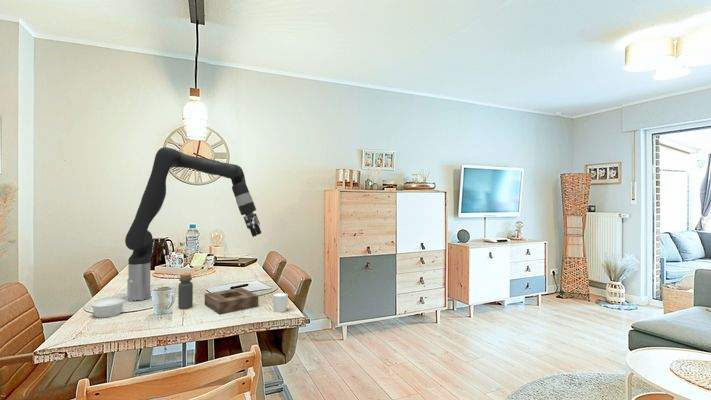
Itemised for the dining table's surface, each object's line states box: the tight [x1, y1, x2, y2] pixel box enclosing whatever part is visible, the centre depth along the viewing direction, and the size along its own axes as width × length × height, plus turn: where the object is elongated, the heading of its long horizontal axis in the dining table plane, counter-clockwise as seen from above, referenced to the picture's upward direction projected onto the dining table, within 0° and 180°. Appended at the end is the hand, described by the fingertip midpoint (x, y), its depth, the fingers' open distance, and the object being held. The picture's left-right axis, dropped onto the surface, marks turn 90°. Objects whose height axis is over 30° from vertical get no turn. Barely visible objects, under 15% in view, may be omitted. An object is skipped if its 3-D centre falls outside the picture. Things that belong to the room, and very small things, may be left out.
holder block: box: [203, 287, 259, 315], centre depth 171 cm, size 18×18×5 cm
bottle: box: [177, 272, 194, 310], centre depth 168 cm, size 6×6×15 cm
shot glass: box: [272, 292, 289, 313], centre depth 165 cm, size 7×7×7 cm
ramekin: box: [91, 298, 125, 319], centre depth 157 cm, size 11×11×5 cm
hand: (257, 235), depth 181 cm, fingers open, 8 cm apart
